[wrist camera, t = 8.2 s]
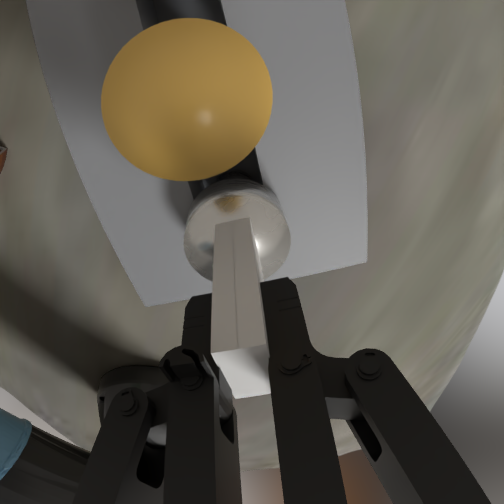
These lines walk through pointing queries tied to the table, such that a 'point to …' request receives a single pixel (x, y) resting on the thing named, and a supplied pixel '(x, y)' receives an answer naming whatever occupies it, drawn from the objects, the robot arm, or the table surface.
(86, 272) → the table surface
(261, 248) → the knob
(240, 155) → the yellow round knob
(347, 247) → the mount
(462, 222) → the table surface
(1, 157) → the food container
